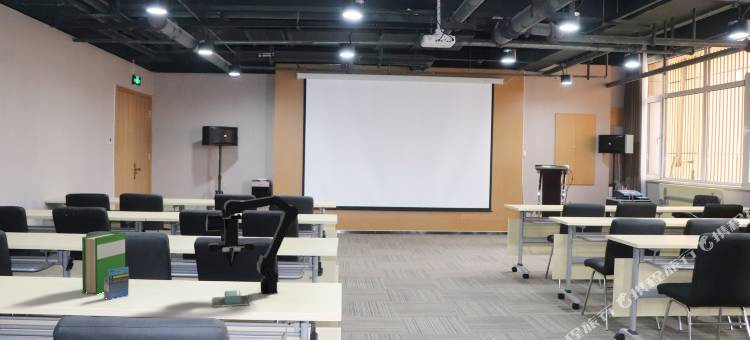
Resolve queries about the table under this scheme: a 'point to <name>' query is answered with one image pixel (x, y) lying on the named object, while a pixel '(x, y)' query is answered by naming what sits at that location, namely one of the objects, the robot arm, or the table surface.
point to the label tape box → (116, 283)
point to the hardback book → (101, 259)
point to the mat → (221, 302)
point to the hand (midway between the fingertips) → (231, 267)
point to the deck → (232, 297)
